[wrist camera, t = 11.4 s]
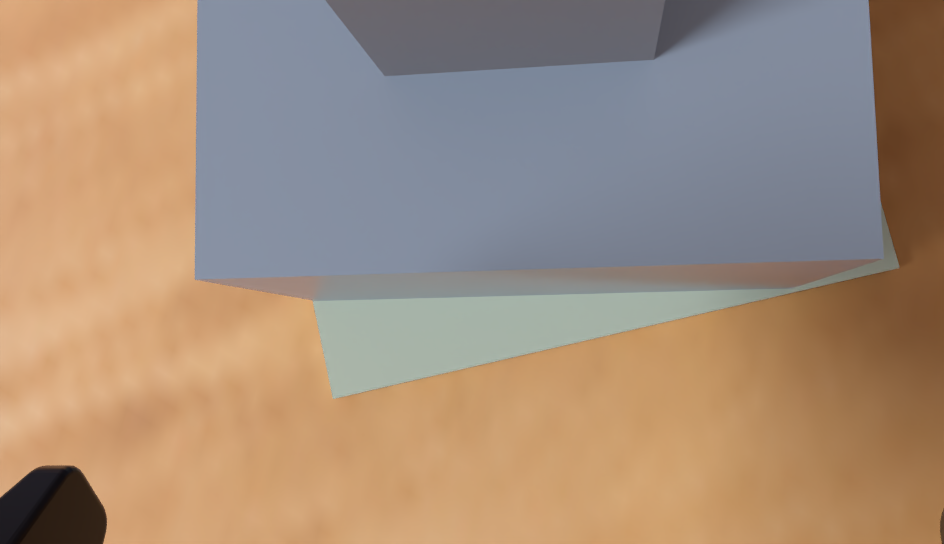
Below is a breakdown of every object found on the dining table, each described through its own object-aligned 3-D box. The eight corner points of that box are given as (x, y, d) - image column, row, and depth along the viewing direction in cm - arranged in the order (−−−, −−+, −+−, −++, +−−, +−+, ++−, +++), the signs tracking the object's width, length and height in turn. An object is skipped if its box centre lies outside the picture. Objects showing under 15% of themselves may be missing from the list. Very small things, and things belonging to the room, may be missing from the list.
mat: (893, 269, 18) (899, 267, 18) (338, 398, 20) (333, 398, 19) (742, -258, 20) (745, -270, 19) (233, -103, 21) (227, -111, 21)
